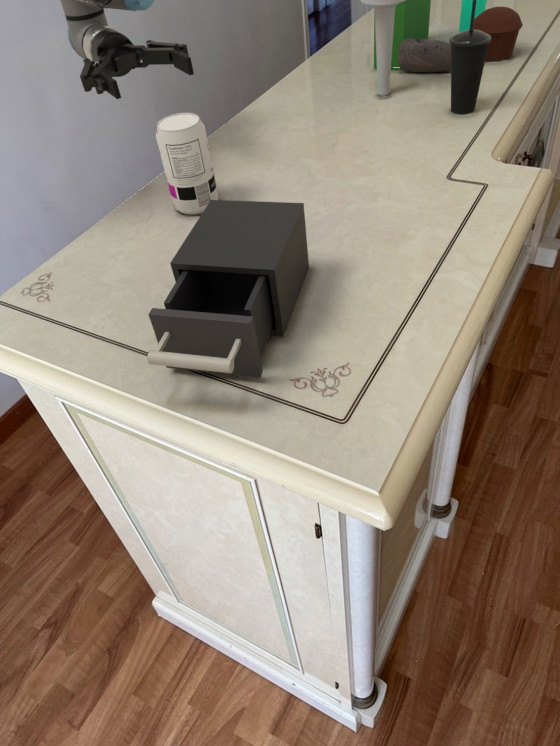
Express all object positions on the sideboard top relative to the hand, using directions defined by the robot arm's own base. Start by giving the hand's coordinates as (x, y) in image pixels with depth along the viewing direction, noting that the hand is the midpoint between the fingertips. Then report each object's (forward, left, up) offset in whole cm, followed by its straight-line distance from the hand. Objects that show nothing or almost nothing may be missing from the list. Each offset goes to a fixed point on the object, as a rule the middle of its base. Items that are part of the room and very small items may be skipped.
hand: (154, 78), depth 98 cm
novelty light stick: (-8, +54, -20) cm, 58 cm away
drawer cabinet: (+39, -6, -19) cm, 44 cm away
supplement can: (+9, -1, -20) cm, 22 cm away
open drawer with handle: (+47, -14, -19) cm, 53 cm away
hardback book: (-24, +72, -20) cm, 79 cm away
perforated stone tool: (-11, +70, -20) cm, 74 cm away
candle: (-21, +92, -20) cm, 97 cm away
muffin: (-8, +87, -20) cm, 90 cm away
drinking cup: (+11, +60, -20) cm, 64 cm away
